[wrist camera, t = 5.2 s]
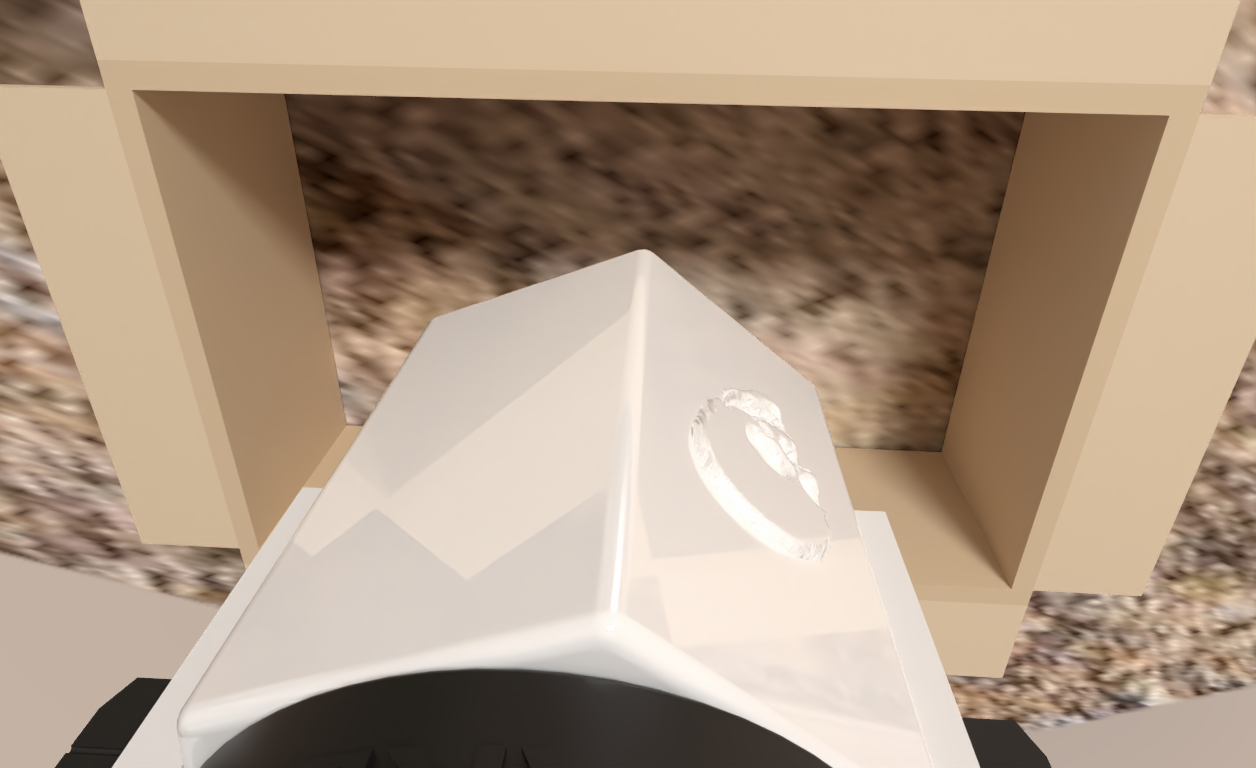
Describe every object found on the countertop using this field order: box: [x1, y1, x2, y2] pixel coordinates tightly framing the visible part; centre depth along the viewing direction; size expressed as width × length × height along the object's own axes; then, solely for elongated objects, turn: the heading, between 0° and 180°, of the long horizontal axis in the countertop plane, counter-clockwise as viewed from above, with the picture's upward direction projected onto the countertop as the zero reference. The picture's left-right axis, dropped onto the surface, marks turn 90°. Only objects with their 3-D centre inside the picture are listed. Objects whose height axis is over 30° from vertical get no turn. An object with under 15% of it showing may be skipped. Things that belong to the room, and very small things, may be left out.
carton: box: [0, 0, 1256, 678], centre depth 23 cm, size 29×20×7 cm
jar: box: [177, 249, 934, 768], centre depth 12 cm, size 9×8×12 cm
